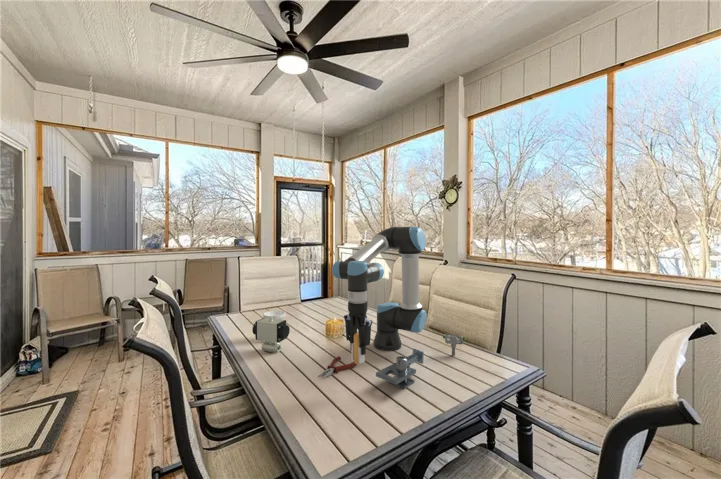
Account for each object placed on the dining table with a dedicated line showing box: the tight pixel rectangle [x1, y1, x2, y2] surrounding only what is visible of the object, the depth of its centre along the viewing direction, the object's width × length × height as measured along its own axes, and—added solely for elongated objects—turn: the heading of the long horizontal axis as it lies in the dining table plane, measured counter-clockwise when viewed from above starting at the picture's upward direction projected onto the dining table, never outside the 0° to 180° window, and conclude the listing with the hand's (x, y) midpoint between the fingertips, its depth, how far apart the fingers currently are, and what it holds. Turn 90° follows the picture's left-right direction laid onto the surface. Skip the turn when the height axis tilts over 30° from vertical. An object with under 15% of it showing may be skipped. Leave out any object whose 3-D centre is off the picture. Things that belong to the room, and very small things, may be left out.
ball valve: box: [252, 317, 291, 353], centre depth 161 cm, size 18×8×18 cm, turn 71°
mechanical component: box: [442, 333, 465, 357], centre depth 156 cm, size 3×10×10 cm, turn 78°
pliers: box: [318, 355, 358, 379], centre depth 140 cm, size 11×20×3 cm, turn 147°
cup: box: [262, 309, 287, 320], centre depth 178 cm, size 12×12×15 cm
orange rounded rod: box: [353, 332, 360, 365], centre depth 121 cm, size 3×3×11 cm
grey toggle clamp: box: [375, 348, 425, 390], centre depth 129 cm, size 10×23×10 cm, turn 136°
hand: (358, 360), depth 121 cm, fingers closed on orange rounded rod, 3 cm apart
